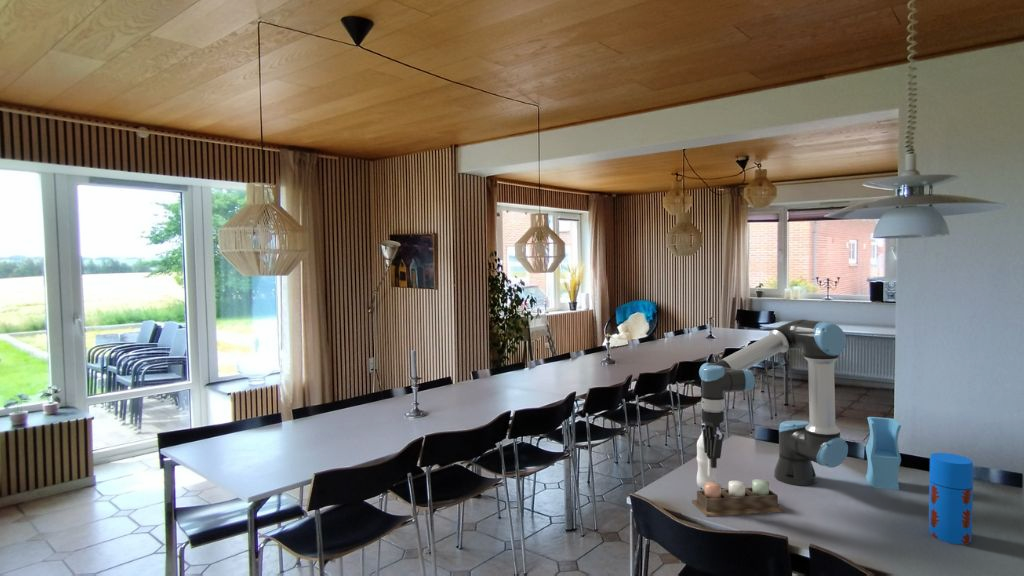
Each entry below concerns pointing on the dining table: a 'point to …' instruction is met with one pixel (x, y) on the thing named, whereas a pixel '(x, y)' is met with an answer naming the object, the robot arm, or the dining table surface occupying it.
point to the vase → (883, 453)
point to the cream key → (736, 489)
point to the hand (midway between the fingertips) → (712, 475)
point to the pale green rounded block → (760, 487)
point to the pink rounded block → (712, 490)
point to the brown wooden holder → (737, 503)
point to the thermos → (950, 498)
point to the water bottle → (702, 464)
